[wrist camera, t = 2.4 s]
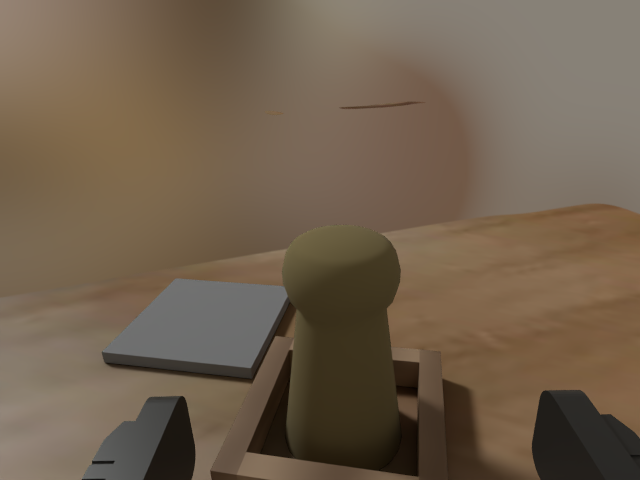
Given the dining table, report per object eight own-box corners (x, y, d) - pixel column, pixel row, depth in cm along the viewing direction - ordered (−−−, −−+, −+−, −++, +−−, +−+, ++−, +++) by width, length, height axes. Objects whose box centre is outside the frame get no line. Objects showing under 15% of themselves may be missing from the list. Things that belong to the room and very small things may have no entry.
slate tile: (104, 362, 30) (101, 352, 30) (177, 287, 39) (175, 278, 39) (252, 378, 28) (251, 368, 28) (292, 295, 37) (292, 286, 37)
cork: (282, 395, 27) (268, 216, 22) (384, 384, 27) (390, 207, 23) (289, 487, 21) (272, 273, 17) (417, 470, 22) (433, 259, 18)
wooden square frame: (215, 499, 21) (210, 470, 20) (277, 359, 30) (275, 336, 29) (446, 538, 19) (449, 507, 18) (438, 376, 28) (440, 351, 27)
